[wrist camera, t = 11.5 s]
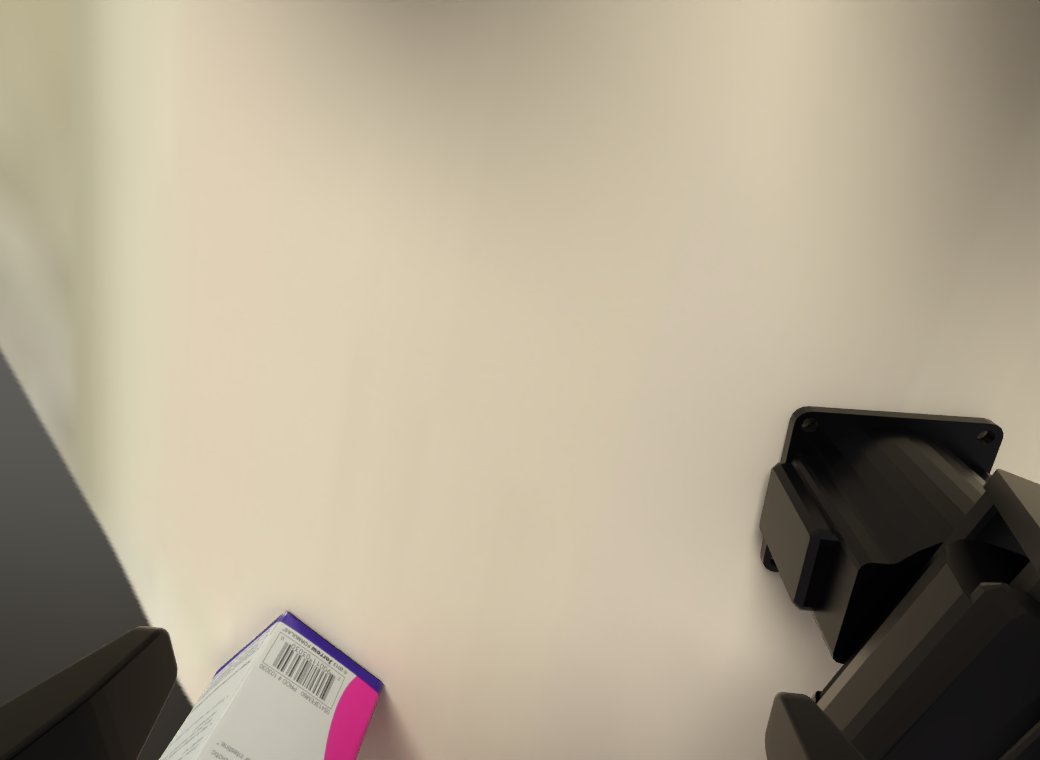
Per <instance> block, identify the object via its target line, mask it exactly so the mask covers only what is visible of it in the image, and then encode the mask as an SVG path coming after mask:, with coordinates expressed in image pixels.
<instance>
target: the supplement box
mask: <svg viewBox="0 0 1040 760" xmlns="http://www.w3.org/2000/svg"><path fill="white" fill-rule="evenodd" d="M382 685H383V684H382V682H380V681H379V680H378V679H377V678H375V677H374V676H373V675H371V674H370V673H369V672H367V671H366V670H365V669H363V668H362V667H360V666H359V665H358V664H356V663H355V662H354V661H352V660H351V659H350V658H349V657H347V656H346V655H344V654H343V653H342V652H340V651H339V650H338V649H336V648H335V647H333V646H332V645H331V644H330V643H328V642H327V641H325V640H324V639H323V638H322V637H320V636H319V635H318V634H316V633H315V632H314V631H313V630H311V629H310V628H308V627H307V626H306V625H304V624H303V623H302V622H301V621H299V620H298V619H297V618H295V617H294V616H293V615H291V614H290V613H289V612H287V611H285V612H284V613H283V614H282V615H280V616H279V617H278V618H277V619H276V620H274V622H272V623H271V624H270V625H269V626H268V627H267V628H266V629H265V630H264V631H262V632H261V633H260V634H259V635H258V636H257V637H256V638H255V639H254V640H252V641H251V642H250V643H249V644H247V645H246V646H245V647H244V648H243V649H242V650H241V651H239V652H238V653H237V654H236V655H235V656H233V657H232V658H231V659H230V660H229V661H228V662H227V663H226V664H225V665H223V666H222V667H221V668H220V669H219V670H218V671H217V672H216V674H215V676H214V677H213V679H212V681H211V682H210V684H209V685H208V687H207V688H206V690H205V691H204V693H203V694H202V696H201V697H200V699H199V700H198V702H197V703H196V705H195V706H194V708H193V709H192V711H191V713H190V714H189V716H188V717H187V719H186V720H185V722H184V723H183V725H182V726H181V728H180V729H179V731H178V732H177V734H176V735H175V737H174V738H173V740H172V741H171V743H170V744H169V746H168V747H167V749H166V750H165V752H164V753H163V755H162V756H161V758H160V759H159V760H356V758H357V755H358V753H359V750H360V747H361V744H362V741H363V739H364V736H365V733H366V731H367V728H368V725H369V723H370V720H371V717H372V715H373V712H374V709H375V706H376V704H377V701H378V698H379V696H380V693H381V689H382Z"/></svg>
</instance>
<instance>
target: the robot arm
mask: <svg viewBox="0 0 1040 760" xmlns="http://www.w3.org/2000/svg"><path fill="white" fill-rule="evenodd" d="M809 418H813V419H814V421H813V423H812V424H811V425H809V426H806V427H803V426H802V423H803V421H805V420H806V419H809ZM984 431H987V434H986V435H985V436H984V437H982V438H980V439H978V436H979V435H980V433H982V432H984ZM1002 439H1003V431H1002V429H1001V428H1000V427H999V426H998V425H996V424H995V423H993V422H992V421H991V420H989V419H985V418H972V417H958V416H943V415H928V414H914V413H899V412H884V411H869V410H855V409H840V408H825V407H811V406H808V407H802V408H799V409H797V410H796V411H795V412H794V413H793V414H792V416H791V418H790V423H789V427H788V432H787V436H786V440H785V445H784V449H783V454H782V458H781V463H778V464H776V465H775V466H774V467H773V468H772V470H771V475H770V479H769V484H768V488H767V493H766V497H765V502H764V507H763V511H762V516H761V520H760V529H761V531H762V534H763V536H764V539H763V543H762V548H761V552H760V553H761V559H762V561H763V564H764V566H765V567H766V568H767V569H768V570H770V571H774V572H779V573H780V575H781V577H782V580H783V582H784V584H785V587H786V589H787V591H788V594H789V596H790V598H791V601H792V602H793V603H794V604H795V606H796V607H797V608H798V609H799V610H806V611H811V612H812V614H813V617H814V619H815V621H816V623H817V625H818V627H819V629H820V632H821V634H822V636H823V638H824V640H825V642H826V645H827V647H828V649H829V651H830V653H831V655H832V657H833V659H834V660H835V661H836V662H838V663H841V664H844V665H843V666H842V667H841V669H840V670H839V671H838V672H837V673H836V675H835V676H834V677H833V678H832V680H831V681H830V682H829V683H828V684H827V686H826V687H825V688H824V689H823V691H822V692H821V691H817V692H816V693H815V694H814V695H813V696H812V698H810V697H808V696H806V695H803V694H795V693H785V692H780V693H778V694H777V695H776V696H775V699H774V702H773V706H772V709H771V713H770V717H769V721H768V725H767V728H766V733H765V749H766V755H767V760H1040V485H1039V484H1037V483H1034V482H1032V481H1029V480H1027V479H1024V478H1021V477H1019V476H1016V475H1014V474H1011V473H1009V472H1006V471H1003V470H1001V469H997V470H996V471H995V472H994V474H993V475H991V474H990V471H991V469H992V466H993V463H994V461H995V458H996V455H997V453H998V450H999V447H1000V445H1001V442H1002ZM772 557H773V559H771V558H772ZM176 677H177V664H176V660H175V656H174V651H173V647H172V643H171V639H170V636H169V633H168V632H167V631H166V630H165V629H163V628H156V627H146V626H140V627H136V628H134V629H132V630H130V631H128V632H127V633H125V634H123V635H122V636H120V637H118V638H117V639H115V640H113V641H111V642H110V643H108V644H106V645H104V646H103V647H101V648H99V649H98V650H96V651H94V652H92V653H91V654H89V655H87V656H86V657H84V658H82V659H80V660H79V661H77V662H75V663H74V664H72V665H70V666H69V667H67V668H65V669H63V670H62V671H60V672H58V673H56V674H55V675H53V676H51V677H50V678H48V679H46V680H45V681H43V682H41V683H39V684H38V685H36V686H34V687H32V688H31V689H29V690H28V691H26V692H24V693H22V694H21V695H19V696H17V697H15V698H14V699H12V700H10V701H9V702H7V703H5V704H3V705H2V706H0V760H137V758H138V756H139V754H140V752H141V750H142V748H143V746H144V744H145V742H146V740H147V738H148V736H149V734H150V732H151V730H152V728H153V726H154V724H155V722H156V720H157V718H158V716H159V714H160V712H161V710H162V708H163V706H164V704H165V702H166V700H167V698H168V696H169V694H170V692H171V690H172V688H173V686H174V684H175V681H176Z"/></svg>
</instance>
